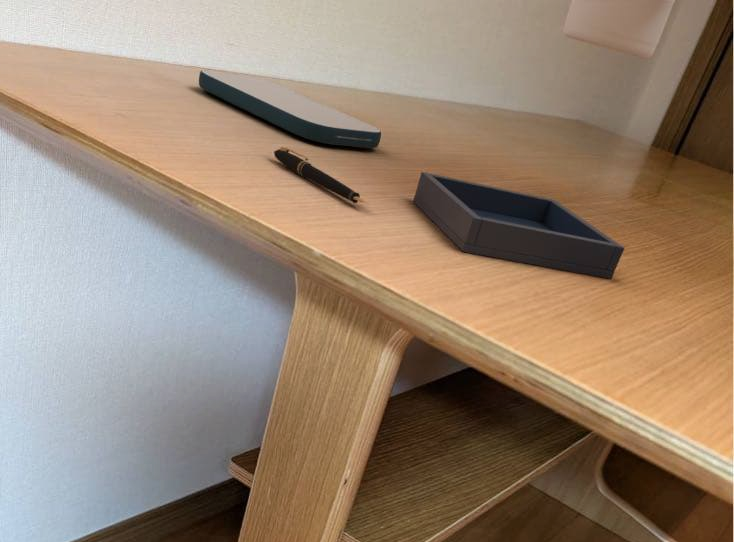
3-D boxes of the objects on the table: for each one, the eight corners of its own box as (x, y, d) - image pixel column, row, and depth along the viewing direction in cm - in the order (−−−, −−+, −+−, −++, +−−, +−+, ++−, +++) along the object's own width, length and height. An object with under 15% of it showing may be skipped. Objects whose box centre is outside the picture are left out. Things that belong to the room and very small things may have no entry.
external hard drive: (186, 85, 96) (188, 66, 95) (264, 96, 103) (267, 78, 102) (310, 147, 83) (315, 125, 82) (389, 154, 91) (394, 134, 89)
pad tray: (544, 227, 78) (554, 199, 76) (611, 279, 67) (625, 247, 66) (412, 201, 74) (421, 171, 72) (462, 251, 63) (473, 217, 62)
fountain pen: (371, 213, 66) (376, 194, 66) (360, 212, 66) (365, 193, 65) (277, 159, 75) (281, 142, 74) (267, 158, 74) (270, 140, 73)
